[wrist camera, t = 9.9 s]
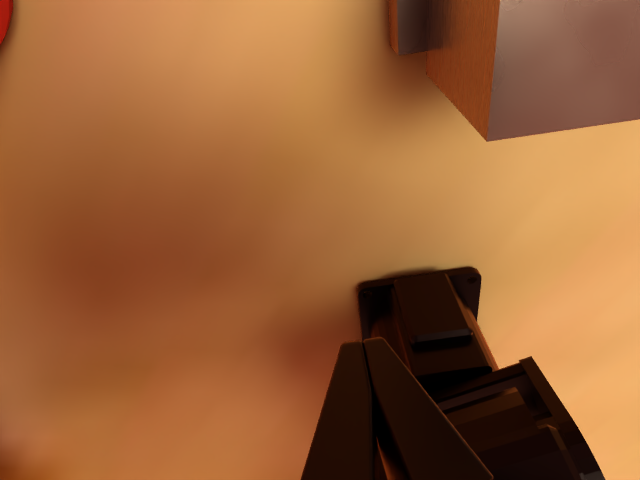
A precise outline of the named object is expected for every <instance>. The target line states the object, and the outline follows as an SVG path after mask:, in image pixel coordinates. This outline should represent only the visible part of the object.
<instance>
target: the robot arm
mask: <svg viewBox="0 0 640 480" xmlns="http://www.w3.org/2000/svg"><path fill="white" fill-rule="evenodd" d="M471 276H473V277H472V278H470V279H468V278H469V277H471ZM480 288H481V275H480V273H479V271H478V270H477V269H475V268H465V269H458V270H451V271H444V272H437V273H430V274H423V275H416V276H409V277H401V278H394V279H387V280H380V281H373V282H366V283H362V284H361V285H359V286H358V288H357V297H358V306H359V316H360V325H361V334H362V341H360V340H355V341H348V342H343V343H342V345H341V347H340V350H339V354H338V357H337V360H336V364H335V367H334V370H333V374H332V377H331V380H330V384H329V387H328V390H327V394H326V397H325V400H324V404H323V407H322V410H321V414H320V417H319V420H318V423H317V427H316V430H315V433H314V437H313V440H312V443H311V447H310V450H309V453H308V457H307V460H306V463H305V467H304V470H303V473H302V477H301V480H605V478H604V476H603V474H602V472H601V469H600V467H599V465H598V464H597V462H596V460H595V458H594V456H593V454H592V452H591V450H590V448H589V446H588V444H587V443H586V441H585V439H584V437H583V436H582V434H581V432H580V430H579V429H578V427H577V425H576V424H575V422H574V421H573V419H572V417H571V416H570V414H569V413H568V411H567V410H566V408H565V407H564V405H563V404H562V402H561V401H560V399H559V398H558V396H557V395H556V393H555V392H554V390H553V389H552V387H551V386H550V384H549V382H548V381H547V379H546V378H545V376H544V375H543V373H542V372H541V370H540V369H539V367H538V366H537V364H536V363H535V361H534V360H533V358H532V357H531V356H530V357H527V358H524V359H522V360H519V363H516V364H513V365H510V366H507V367H505V368H502V369H499V368H498V366H497V364H496V362H495V359H494V357H493V355H492V353H491V351H490V349H489V347H488V345H487V343H486V341H485V338H484V336H483V334H482V332H481V330H480V328H479V326H478V324H477V315H478V306H479V297H480ZM366 291H370V292H369V293H364V292H366Z"/></svg>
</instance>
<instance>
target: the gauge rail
mask: <svg viewBox="0 0 640 480" xmlns="http://www.w3.org/2000/svg"><path fill="white" fill-rule="evenodd" d="M389 28H390V46H391V47H392V48H393V49H394V51H395V52H396V53H397V54H398V55H404V54H410V53H417V52H424V51H427V53H426V74H427V75H428V77H429V78H430V79H431V80H432V81H433V82H434V83H435V84H436V86H437V87H438V88H439V89H440V90H441V91H442V92H443V93H444V94H445V96H446V97H447V98H448V99H449V100H450V101H451V102H452V103H453V105H454V106H455V107H456V108H457V109H458V110H459V111H460V112H461V113H462V115H463V116H464V117H465V118H466V119H467V120H468V121H469V122H470V124H471V125H472V126H473V127H474V128H475V129H476V130H477V131H478V132H479V134H480V135H481V136H482V137H483V138H484V139H485V140H486V141H487V142H488V141H494V140H501V139H508V138H515V137H522V136H529V135H535V134H542V133H549V132H556V131H563V130H569V129H576V128H583V127H590V126H597V125H604V124H610V123H617V122H624V121H631V120H638V119H640V0H389Z"/></svg>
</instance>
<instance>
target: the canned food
mask: <svg viewBox="0 0 640 480" xmlns="http://www.w3.org/2000/svg"><path fill="white" fill-rule="evenodd" d="M12 9H13V0H0V45H1V43H2V41H3V39H4V37H5V35H6V32H7V30H8V27H9V23H10V18H11V14H12Z"/></svg>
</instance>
